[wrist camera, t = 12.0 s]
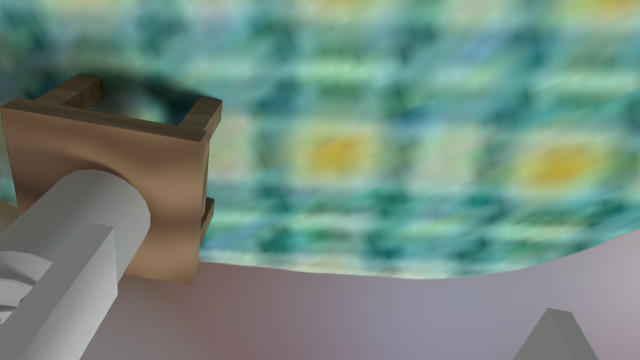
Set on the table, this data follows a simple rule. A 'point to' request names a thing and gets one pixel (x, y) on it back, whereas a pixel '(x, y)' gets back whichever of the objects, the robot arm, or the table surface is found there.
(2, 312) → the can
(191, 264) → the stool
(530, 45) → the table surface
